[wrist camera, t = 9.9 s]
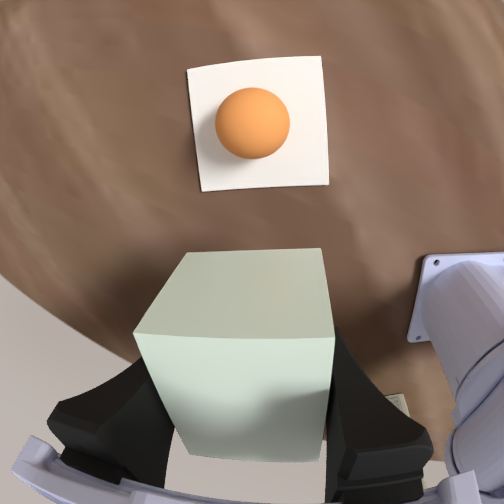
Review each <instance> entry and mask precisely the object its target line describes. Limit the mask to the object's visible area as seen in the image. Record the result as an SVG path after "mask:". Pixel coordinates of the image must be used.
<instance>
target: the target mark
mask: <svg viewBox="0 0 504 504" xmlns="http://www.w3.org/2000/svg"><path fill="white" fill-rule="evenodd" d="M187 74H188V84H189V93H190V102H191V111H192V119H193V128H194V136H195V144H196V152H197V159H198V167H199V174H200V181H201V188H202V192H203V191H215V190H228V189H243V188H260V187H279V186H304V185H329V167H328V143H327V124H326V109H325V96H324V84H323V73H322V63H321V56H302V57H281V58H267V59H256V60H246V61H238V62H230V63H223V64H216V65H210V66H204V67H198V68H192V69H187ZM251 87H254V88H261V89H265V90H268V91H270V92H272V93H273V94H275V95H276V96H277V97H278V98H279V99H280V100H281V101H282V102H283V103H284V105H285V106H286V108H287V111H288V113H289V118H290V129H289V134H288V136H287V139H286V140H285V142H284V144H283V145H282V146H281V147H280V148H279V149H278V150H277V151H276V152H275V153H273V154H271V155H269V156H267V157H264V158H260V159H245V158H241V157H238V156H236V155H234V154H232V153H231V152H229V151H228V150H227V149H226V148H225V147H224V146H223V145H222V143H221V142H220V140H219V138H218V136H217V133H216V129H215V118H216V114H217V111H218V108H219V106H220V105H221V103H222V102H223V101H224V100H225V98H227V97H228V96H229V95H230V94H232V93H233V92H235V91H237V90H240V89H244V88H251Z"/></svg>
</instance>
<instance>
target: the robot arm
mask: <svg viewBox="0 0 504 504" xmlns="http://www.w3.org/2000/svg"><path fill="white" fill-rule="evenodd" d="M503 259H504V252H484V253H460V254H435V255H427V256H426V257H425V258H424V260H423V264H422V270H421V276H420V281H419V286H418V291H417V296H416V301H415V305H414V310H413V314H412V318H411V322H410V326H409V330H408V334H407V340H408V342H410V343H413V342H422V341H431V343H432V345H433V347H434V350H435V352H436V354H437V357H438V359H439V361H440V364H441V366H442V368H443V371H444V373H445V376H446V378H447V381H448V383H449V386H450V388H451V391H452V394H453V396H454V399H455V402H456V407H455V409H454V410H453V411H452V413H451V416H452V419H453V422H454V425H455V428H454V429H453V430H452V431H451V433H450V434H449V436H448V438H447V440H446V444H445V450H444V457H445V464H446V468H447V471H448V474H449V476H450V477H447V478H445V479H443V480H442V481H441V482H440V483H439V484H438V485H437V486H436V487H432V488H428V489H423V485H422V478H423V477H424V473H423V467H424V466H425V465H426V463H427V462H428V461H429V460H430V458H431V457H432V455H433V453H434V450H433V445H432V441H431V439H430V436H429V434H428V432H427V430H426V428H425V427H423V426H422V425H420V424H419V423H417V422H416V421H414V420H413V419H411V418H410V417H408V416H407V415H406V414H404V413H403V412H402V411H401V410H399V409H398V408H397V407H396V406H395V405H394V404H393V403H392V402H390V401H389V400H388V399H387V398H386V397H385V396H384V395H383V394H382V393H381V392H380V391H379V390H378V389H377V387H376V386H375V385H374V384H373V383H372V382H371V380H370V379H369V378H368V377H367V375H366V374H365V373H364V371H363V370H362V369H361V367H360V366H359V364H358V363H357V361H356V360H355V358H354V357H353V355H352V354H351V352H350V350H349V349H348V347H347V345H346V343H345V341H344V339H343V337H342V335H341V333H340V331H339V328H337V327H334V332H335V345H334V355H333V365H332V374H331V382H330V390H329V398H328V405H327V412H326V428H327V460H326V488H325V503H323V504H504V260H503ZM435 260H438V261H437V262H436V263H435V264H433V263H434V261H435ZM417 336H419V337H417ZM47 425H48V426H49V429H50V430H51V431H52V433H53V434H54V435H55V436H56V437H57V438H58V439H59V440H60V441H61V442H62V443H63V444H64V446H65V449H64V451H63V452H62V454H59V453H57V452H56V450H55V449H54V448H53V447H52V446H51V445H49V444H48V443H46V442H45V441H42V440H41V439H39V438H37V437H35V436H32V435H31V436H30V437H29V439H28V441H27V442H26V444H25V446H24V447H23V449H22V451H21V452H20V454H19V456H18V458H17V459H16V461H15V463H14V465H13V466H12V468H11V471H12V473H14V474H15V475H16V476H17V477H19V478H20V479H21V480H22V481H23V482H25V483H26V484H27V485H29V486H30V487H31V488H33V489H34V490H35V491H37V492H38V493H39V494H41V495H43V496H45V497H46V498H48V499H50V500H51V501H53V502H55V503H57V504H267V503H252V502H241V501H231V500H223V499H214V498H209V497H202V496H196V495H191V494H185V493H180V492H175V491H171V490H166V489H164V484H165V477H166V469H167V463H168V457H169V451H170V445H171V441H172V437H173V433H174V428H175V426H174V424H173V422H172V420H171V418H170V416H169V414H168V412H167V410H166V408H165V406H164V404H163V402H162V400H161V398H160V396H159V393H158V391H157V389H156V387H155V385H154V382H153V380H152V378H151V376H150V373H149V371H148V369H147V366H146V364H145V362H144V359H143V357H141V358H139V359H138V360H137V361H136V362H135V363H133V364H132V365H131V366H130V367H128V368H127V369H126V370H124V371H123V372H121V373H120V374H118V375H117V376H115V377H114V378H112V379H110V380H109V381H107V382H105V383H103V384H101V385H100V386H98V387H96V388H94V389H92V390H89V391H87V392H85V393H83V394H80V395H78V396H75V397H72V398H69V399H66V400H63V401H59V402H58V404H57V405H56V407H55V409H54V410H53V412H52V413H51V415H50V416H49V418H48V420H47ZM268 504H269V503H268Z"/></svg>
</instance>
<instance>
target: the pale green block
mask: <svg viewBox="0 0 504 504" xmlns="http://www.w3.org/2000/svg"><path fill="white" fill-rule="evenodd" d="M133 334H134V337H135V340H136V342H137V345H138V347H139V350H140V352H141V355H142V357H143V359H144V362H145V364H146V366H147V369H148V371H149V373H150V376H151V378H152V380H153V382H154V385H155V387H156V389H157V391H158V393H159V396H160V398H161V400H162V402H163V404H164V406H165V408H166V410H167V412H168V414H169V416H170V418H171V420H172V422H173V424H174V426H175V428H176V430H177V432H178V434H179V436H180V437H181V439H182V441H183V443H184V445H185V447H186V448H187V450H188V452H189V454H192V455H198V456H205V457H213V458H222V459H232V460H244V461H260V462H318V461H319V455H320V450H321V444H322V438H323V432H324V426H325V419H326V412H327V405H328V398H329V390H330V382H331V374H332V365H333V355H334V345H335V332H334V325H333V318H332V312H331V305H330V299H329V292H328V286H327V280H326V274H325V269H324V263H323V257H322V252H321V248H309V249H279V250H248V251H218V252H188V253H186V255H185V256H184V257H183V259H182V260H181V262H180V263H179V265H178V266H177V267H176V269H175V270H174V272H173V273H172V275H171V276H170V278H169V279H168V281H167V282H166V284H165V285H164V286H163V288H162V289H161V291H160V292H159V294H158V295H157V297H156V298H155V300H154V301H153V303H152V304H151V306H150V307H149V309H148V310H147V312H146V313H145V315H144V316H143V318H142V319H141V321H140V323H139V324H138V326H137V327H136V329H135V330H134V332H133Z"/></svg>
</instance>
